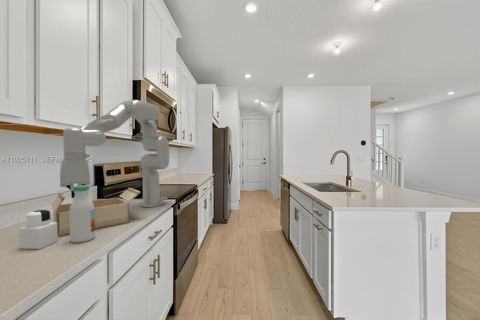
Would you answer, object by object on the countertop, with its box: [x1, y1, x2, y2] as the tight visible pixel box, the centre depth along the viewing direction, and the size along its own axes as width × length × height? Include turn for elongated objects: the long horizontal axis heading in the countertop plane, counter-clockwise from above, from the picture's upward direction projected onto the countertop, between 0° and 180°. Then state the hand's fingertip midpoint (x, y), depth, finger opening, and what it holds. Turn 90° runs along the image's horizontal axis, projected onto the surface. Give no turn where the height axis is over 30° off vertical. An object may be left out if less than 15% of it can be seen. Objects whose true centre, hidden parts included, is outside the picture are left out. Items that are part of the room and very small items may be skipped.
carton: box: [53, 197, 130, 237], centre depth 102 cm, size 26×20×9 cm
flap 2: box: [118, 187, 141, 203], centre depth 112 cm, size 1×17×6 cm
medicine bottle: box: [19, 209, 59, 250], centre depth 79 cm, size 7×7×12 cm
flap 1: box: [51, 191, 66, 213], centre depth 94 cm, size 1×17×6 cm, turn 43°
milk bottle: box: [69, 185, 96, 244], centre depth 84 cm, size 8×8×20 cm
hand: (76, 199), depth 98 cm, fingers closed
